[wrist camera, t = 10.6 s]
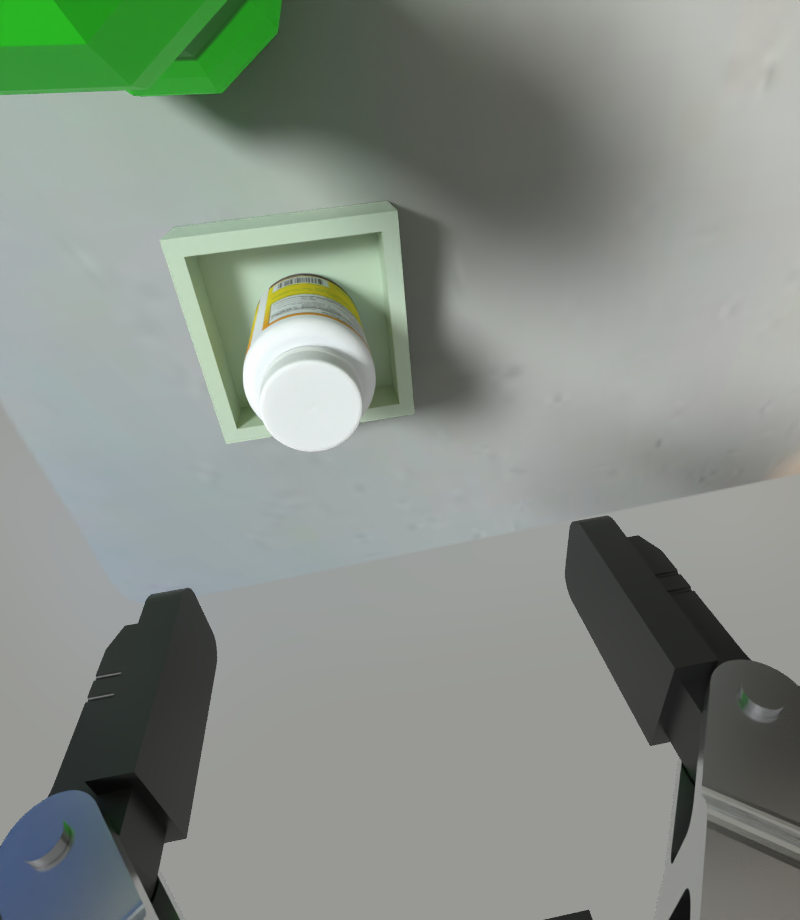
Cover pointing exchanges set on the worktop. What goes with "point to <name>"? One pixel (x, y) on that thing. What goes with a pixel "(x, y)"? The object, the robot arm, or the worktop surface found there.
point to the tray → (276, 256)
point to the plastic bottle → (131, 44)
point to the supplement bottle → (308, 363)
